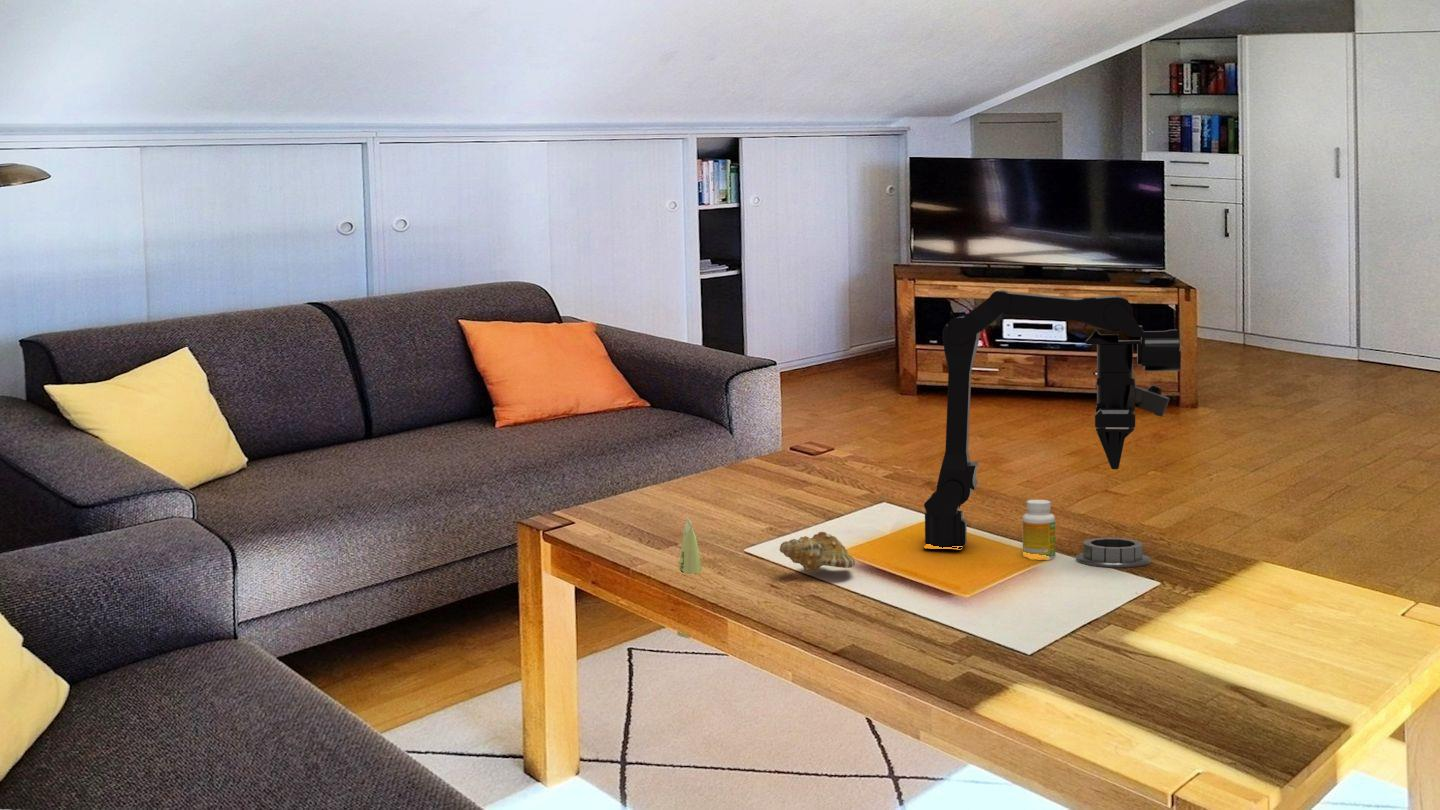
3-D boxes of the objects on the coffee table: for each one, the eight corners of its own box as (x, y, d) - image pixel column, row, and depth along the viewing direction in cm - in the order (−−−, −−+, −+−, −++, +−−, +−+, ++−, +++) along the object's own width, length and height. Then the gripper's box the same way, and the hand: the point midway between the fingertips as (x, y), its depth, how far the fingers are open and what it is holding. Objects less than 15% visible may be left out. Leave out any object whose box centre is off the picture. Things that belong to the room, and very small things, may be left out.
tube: (667, 634, 226) (666, 519, 224) (688, 629, 230) (687, 515, 228) (692, 640, 222) (691, 523, 221) (713, 634, 226) (712, 519, 224)
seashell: (827, 594, 215) (790, 544, 214) (805, 597, 222) (769, 549, 221) (866, 558, 219) (830, 509, 218) (842, 562, 226) (807, 515, 225)
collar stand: (1074, 566, 220) (1074, 549, 220) (1076, 552, 232) (1076, 535, 232) (1151, 569, 217) (1151, 551, 217) (1149, 554, 229) (1149, 537, 228)
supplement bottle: (1056, 561, 225) (1055, 504, 224) (1022, 561, 226) (1022, 503, 225) (1054, 555, 230) (1054, 498, 229) (1022, 554, 231) (1022, 498, 230)
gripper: (1168, 375, 211) (1168, 474, 213) (1164, 367, 229) (1163, 458, 231) (1094, 375, 215) (1095, 473, 216) (1096, 368, 232) (1096, 458, 234)
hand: (1114, 465), depth 224 cm, fingers open, 9 cm apart
